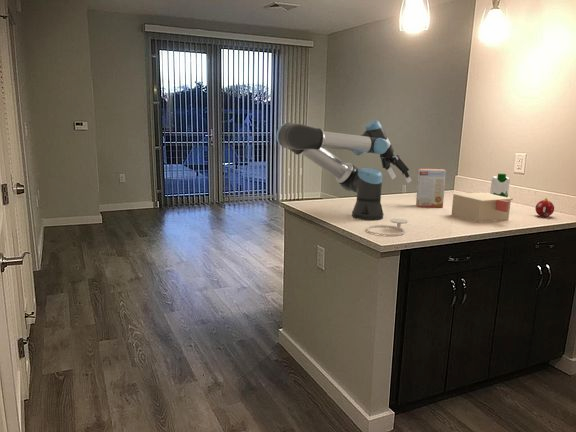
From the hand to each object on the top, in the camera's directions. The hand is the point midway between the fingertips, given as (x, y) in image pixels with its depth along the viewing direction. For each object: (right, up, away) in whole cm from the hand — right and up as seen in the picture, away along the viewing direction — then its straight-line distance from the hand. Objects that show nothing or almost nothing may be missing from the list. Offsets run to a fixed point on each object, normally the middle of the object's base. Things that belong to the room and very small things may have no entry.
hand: (401, 179), depth 254 cm
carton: (+36, -20, -14) cm, 43 cm away
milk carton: (+54, -16, +7) cm, 57 cm away
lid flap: (+37, -15, -19) cm, 44 cm away
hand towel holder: (-17, -26, -47) cm, 56 cm away
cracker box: (+18, -14, +11) cm, 25 cm away
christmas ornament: (+72, -20, -8) cm, 75 cm away
